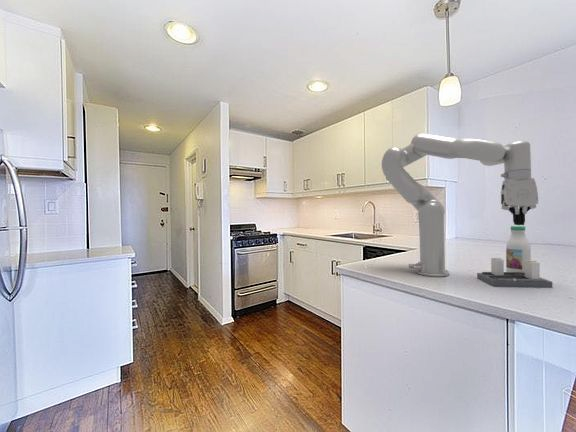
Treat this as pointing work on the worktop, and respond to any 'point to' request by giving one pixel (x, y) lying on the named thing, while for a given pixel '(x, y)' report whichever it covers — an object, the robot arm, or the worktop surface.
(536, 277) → the front fader
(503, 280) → the dark grey tray
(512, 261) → the milk bottle
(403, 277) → the worktop surface
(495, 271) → the white rectangular block
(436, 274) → the robot arm
